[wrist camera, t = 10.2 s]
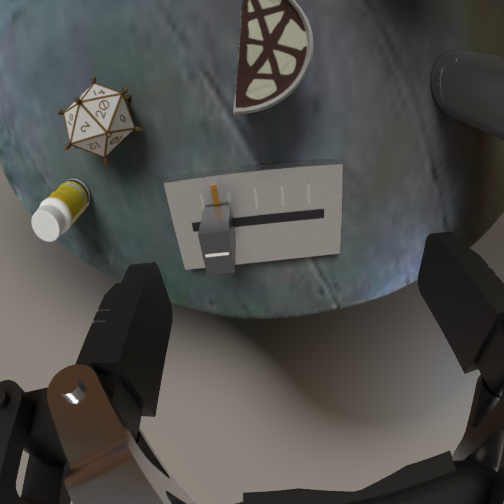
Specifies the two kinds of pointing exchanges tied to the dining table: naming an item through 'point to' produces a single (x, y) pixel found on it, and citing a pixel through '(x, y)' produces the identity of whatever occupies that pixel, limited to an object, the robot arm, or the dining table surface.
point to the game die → (98, 120)
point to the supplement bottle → (60, 209)
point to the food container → (271, 53)
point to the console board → (263, 209)
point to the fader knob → (217, 240)
